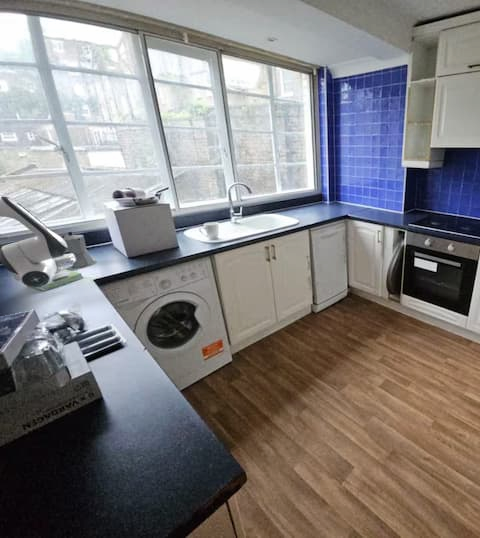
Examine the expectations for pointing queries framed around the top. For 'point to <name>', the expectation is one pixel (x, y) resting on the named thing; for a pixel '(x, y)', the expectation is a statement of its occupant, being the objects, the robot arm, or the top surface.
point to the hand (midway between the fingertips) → (46, 259)
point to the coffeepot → (78, 250)
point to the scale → (62, 279)
